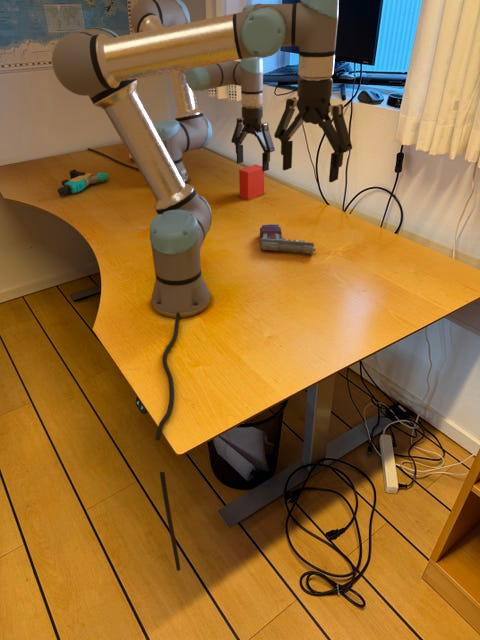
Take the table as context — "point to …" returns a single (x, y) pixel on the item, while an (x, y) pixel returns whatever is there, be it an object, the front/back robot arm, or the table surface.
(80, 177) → the toy gun
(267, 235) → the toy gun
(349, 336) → the table surface
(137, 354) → the table surface
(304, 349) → the table surface
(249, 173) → the block
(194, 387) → the table surface
